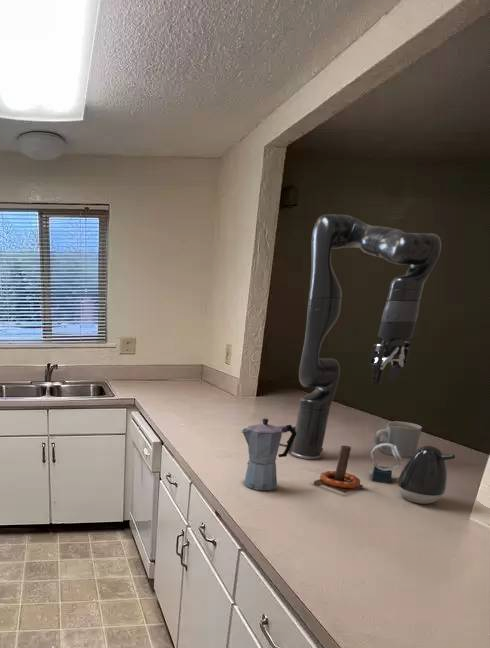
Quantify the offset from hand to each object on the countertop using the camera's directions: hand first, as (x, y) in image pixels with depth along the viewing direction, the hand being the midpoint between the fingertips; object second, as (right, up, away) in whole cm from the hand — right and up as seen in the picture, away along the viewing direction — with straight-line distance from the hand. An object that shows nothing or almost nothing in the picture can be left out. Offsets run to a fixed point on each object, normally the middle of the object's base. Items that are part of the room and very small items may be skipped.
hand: (384, 382), depth 117 cm
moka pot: (-30, -29, +9) cm, 42 cm away
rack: (-8, -29, +8) cm, 31 cm away
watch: (+8, -27, +13) cm, 31 cm away
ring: (-8, -27, +8) cm, 29 cm away
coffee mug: (+28, -18, +37) cm, 50 cm away
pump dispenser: (+8, -32, -1) cm, 33 cm away
